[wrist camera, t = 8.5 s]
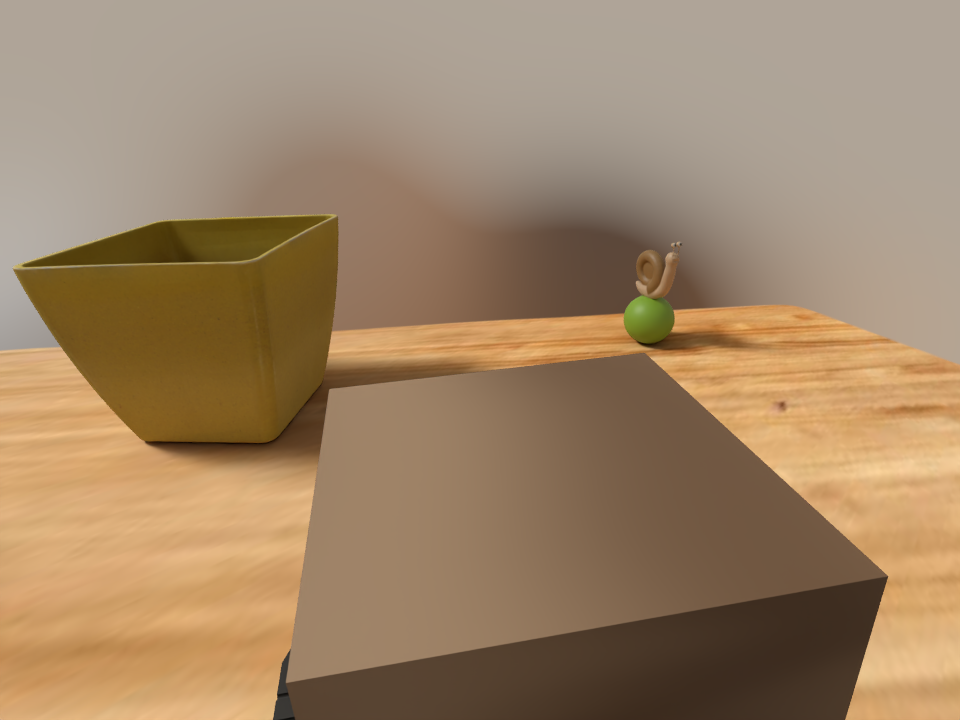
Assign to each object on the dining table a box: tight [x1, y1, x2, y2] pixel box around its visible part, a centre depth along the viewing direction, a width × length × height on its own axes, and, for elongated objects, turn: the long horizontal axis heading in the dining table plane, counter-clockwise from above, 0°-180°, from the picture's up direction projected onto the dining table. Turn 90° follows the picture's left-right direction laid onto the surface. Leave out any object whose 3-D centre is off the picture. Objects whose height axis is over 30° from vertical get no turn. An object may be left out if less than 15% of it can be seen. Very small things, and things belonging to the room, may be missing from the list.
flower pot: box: [13, 214, 338, 443], centre depth 54 cm, size 19×19×17 cm
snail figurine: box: [624, 242, 682, 343], centre depth 64 cm, size 5×6×12 cm
